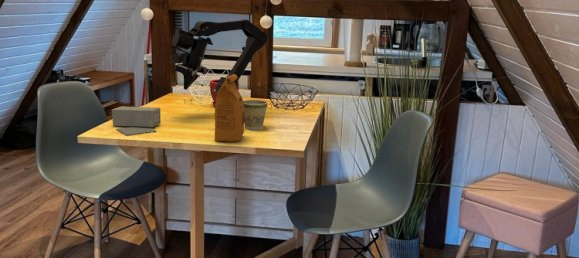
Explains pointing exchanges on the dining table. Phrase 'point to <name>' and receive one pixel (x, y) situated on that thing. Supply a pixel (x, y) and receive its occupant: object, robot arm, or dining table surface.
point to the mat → (135, 130)
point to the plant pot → (213, 87)
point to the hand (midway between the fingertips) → (185, 89)
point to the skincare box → (136, 116)
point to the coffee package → (229, 112)
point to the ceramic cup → (254, 114)
